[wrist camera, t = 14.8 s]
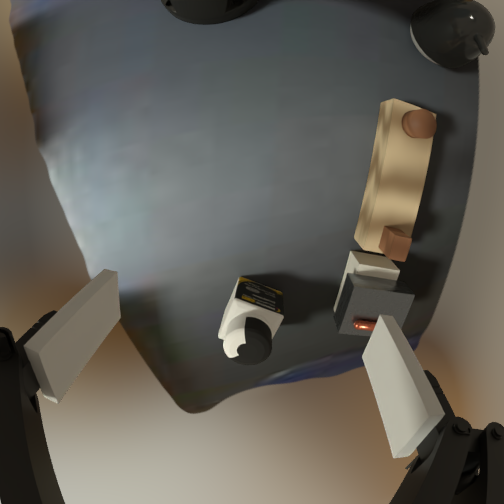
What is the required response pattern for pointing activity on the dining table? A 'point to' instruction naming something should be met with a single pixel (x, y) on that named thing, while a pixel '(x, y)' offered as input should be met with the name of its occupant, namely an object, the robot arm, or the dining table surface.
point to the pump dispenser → (452, 31)
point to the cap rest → (368, 268)
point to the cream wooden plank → (395, 178)
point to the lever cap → (370, 303)
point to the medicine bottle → (251, 322)
